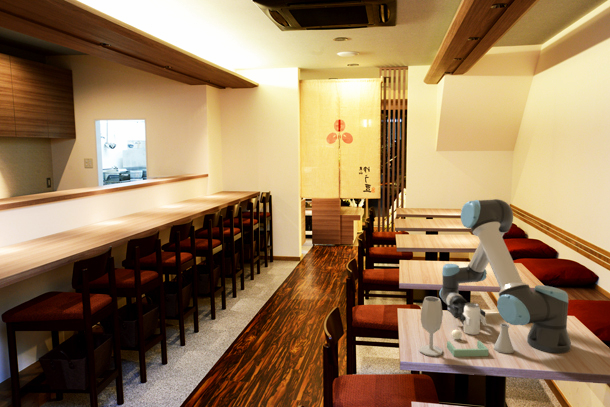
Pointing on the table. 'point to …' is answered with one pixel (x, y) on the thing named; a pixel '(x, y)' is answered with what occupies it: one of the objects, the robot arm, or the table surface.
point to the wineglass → (431, 323)
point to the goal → (468, 350)
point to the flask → (504, 340)
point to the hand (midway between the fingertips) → (477, 321)
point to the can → (472, 318)
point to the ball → (456, 334)
